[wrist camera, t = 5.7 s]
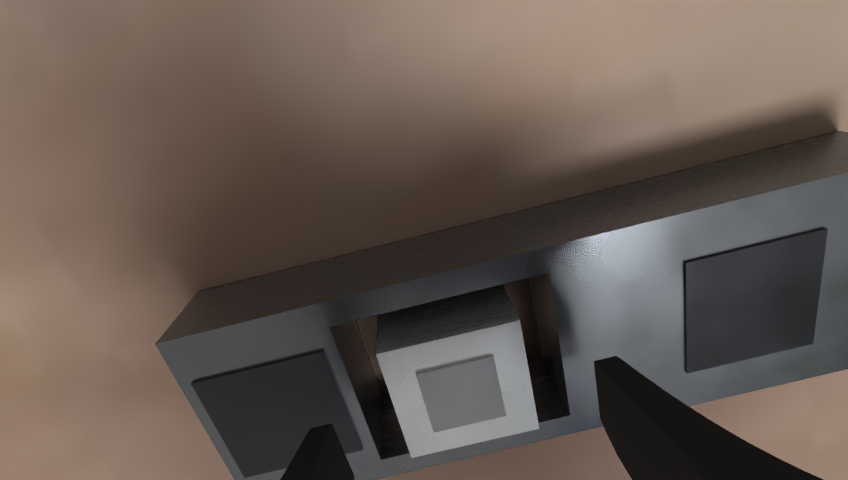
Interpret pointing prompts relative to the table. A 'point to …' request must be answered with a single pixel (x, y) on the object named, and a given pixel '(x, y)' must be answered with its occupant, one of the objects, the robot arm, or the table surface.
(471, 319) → the cube with square inset
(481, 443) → the rail
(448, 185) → the table surface
